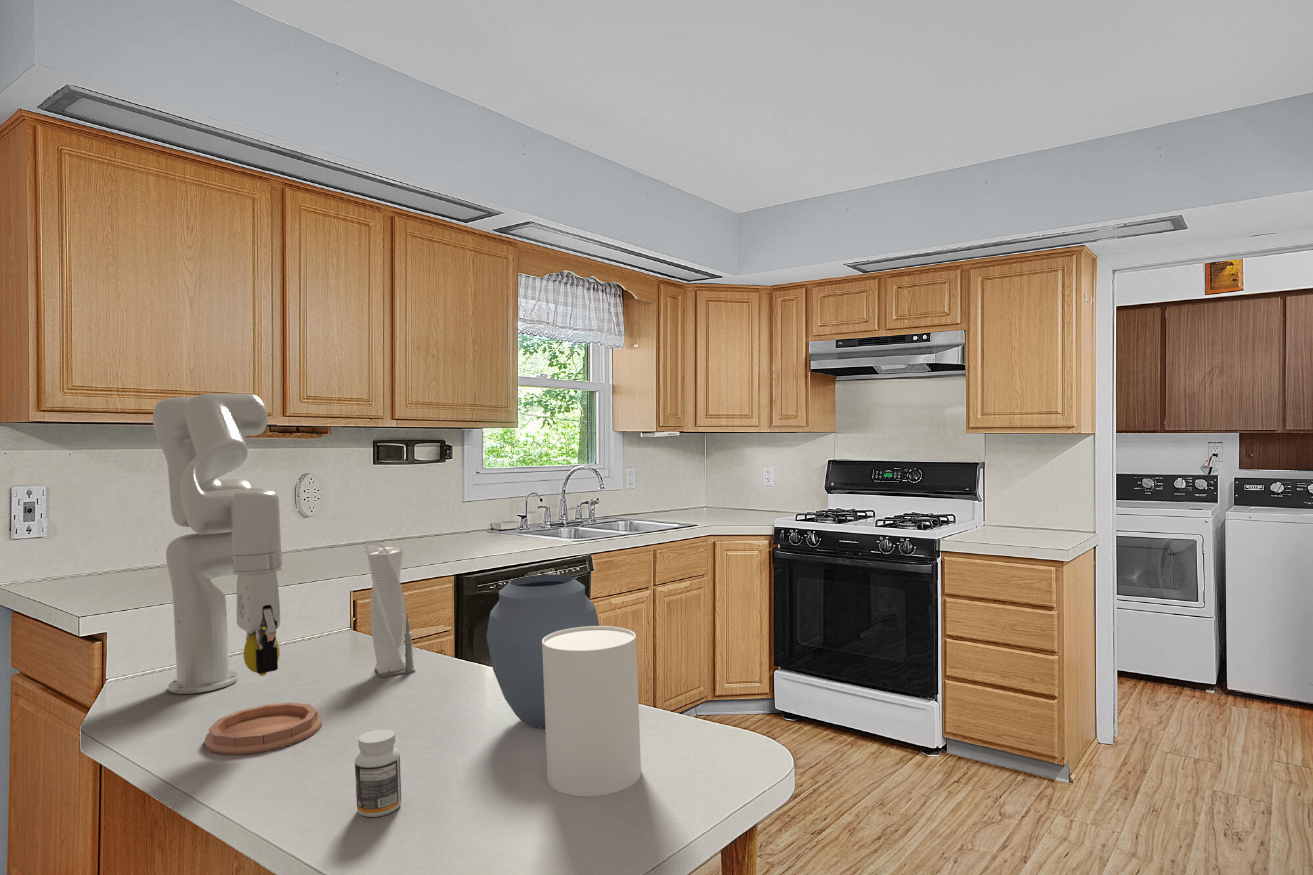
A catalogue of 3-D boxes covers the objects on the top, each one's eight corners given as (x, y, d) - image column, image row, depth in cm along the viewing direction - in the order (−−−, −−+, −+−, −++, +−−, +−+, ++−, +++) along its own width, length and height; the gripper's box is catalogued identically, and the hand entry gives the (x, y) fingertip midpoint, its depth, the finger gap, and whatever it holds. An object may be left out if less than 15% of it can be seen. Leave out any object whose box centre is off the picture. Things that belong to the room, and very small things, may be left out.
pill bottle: (363, 800, 111) (360, 729, 111) (406, 797, 112) (403, 726, 112) (351, 820, 105) (348, 745, 105) (396, 817, 106) (393, 742, 106)
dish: (195, 733, 139) (194, 719, 139) (304, 707, 151) (303, 694, 151) (218, 764, 126) (217, 748, 126) (336, 733, 137) (335, 718, 137)
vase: (621, 726, 135) (615, 582, 135) (507, 751, 126) (501, 597, 126) (580, 694, 153) (575, 566, 152) (477, 713, 144) (472, 578, 144)
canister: (555, 757, 124) (550, 627, 123) (643, 754, 123) (638, 624, 123) (540, 797, 110) (534, 651, 110) (638, 795, 110) (632, 649, 109)
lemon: (266, 681, 135) (264, 633, 135) (237, 680, 136) (235, 633, 136) (287, 671, 140) (285, 625, 140) (259, 670, 141) (257, 625, 141)
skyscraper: (373, 679, 167) (368, 544, 167) (367, 669, 174) (361, 540, 174) (415, 671, 171) (409, 540, 171) (406, 662, 178) (401, 537, 178)
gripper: (222, 561, 142) (226, 663, 142) (246, 571, 129) (251, 683, 129) (267, 555, 147) (272, 654, 147) (295, 564, 134) (300, 673, 134)
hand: (262, 666), depth 138 cm, fingers closed on lemon, 5 cm apart
